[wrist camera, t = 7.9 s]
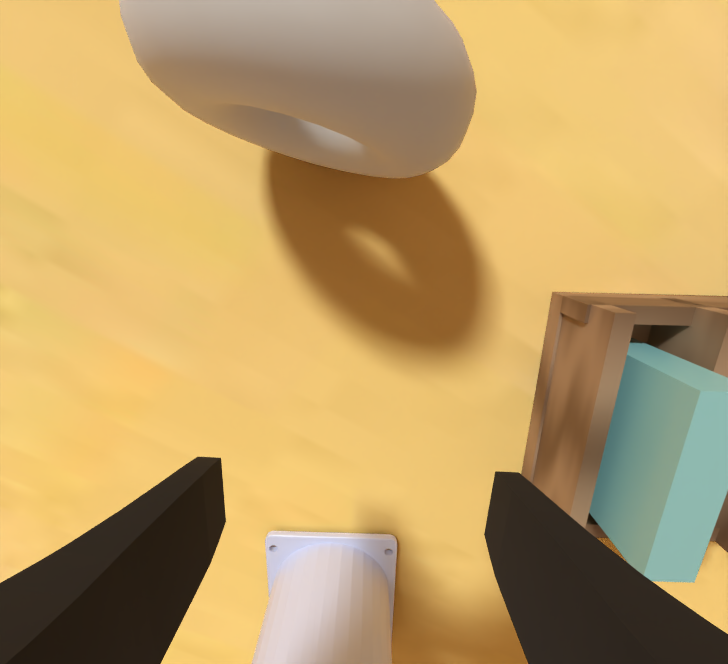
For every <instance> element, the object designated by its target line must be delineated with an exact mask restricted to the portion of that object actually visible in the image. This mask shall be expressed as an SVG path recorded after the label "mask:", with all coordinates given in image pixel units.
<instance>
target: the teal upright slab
mask: <svg viewBox="0 0 728 664" xmlns="http://www.w3.org/2000/svg"><path fill="white" fill-rule="evenodd" d="M727 491H728V378H727V377H725V376H722V375H720V374H718V373H715V372H713V371H710V370H708V369H706V368H703V367H701V366H698V365H696V364H694V363H691V362H689V361H686V360H684V359H682V358H679V357H677V356H675V355H672V354H670V353H667V352H665V351H663V350H660V349H658V348H655V347H653V346H651V345H648V344H646V343H643V342H641V341H639V340H636V339H634V338H631V340H630V344H629V348H628V352H627V356H626V361H625V365H624V369H623V373H622V377H621V381H620V386H619V390H618V394H617V398H616V402H615V406H614V410H613V415H612V419H611V423H610V427H609V431H608V435H607V440H606V444H605V448H604V452H603V456H602V460H601V464H600V469H599V473H598V477H597V481H596V485H595V489H594V494H593V498H592V502H591V506H590V510H589V513H590V514H591V515H592V517H593V518H594V519H595V521H596V522H597V523H598V525H599V526H600V527H601V528H602V530H603V531H604V532H605V534H606V535H607V536H608V537H609V539H610V540H611V541H612V543H613V544H614V545H615V547H616V548H617V549H618V550H619V552H620V553H621V554H622V556H623V557H624V558H625V560H626V561H627V562H628V563H629V564H630V565H631V566H632V567H634V568H635V569H636V570H637V571H639V572H640V573H641V574H643V575H644V576H645V577H647V578H648V579H649V580H651V581H663V582H695V579H696V576H697V574H698V571H699V568H700V565H701V563H702V560H703V557H704V554H705V552H706V549H707V546H708V543H709V541H710V538H711V535H712V532H713V530H714V527H715V524H716V522H717V519H718V516H719V513H720V511H721V508H722V505H723V502H724V500H725V497H726V494H727Z"/></svg>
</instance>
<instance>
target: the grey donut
mask: <svg viewBox="0 0 728 664" xmlns="http://www.w3.org/2000/svg"><path fill="white" fill-rule="evenodd" d="M119 2H120V13H121V17H122V20H123V23H124V26H125V29H126V32H127V35H128V37H129V40H130V43H131V46H132V48H133V51H134V54H135V56H136V59H137V61H138V63H139V64H140V66H141V67H142V69H143V70H144V72H145V73H146V74H147V76H148V77H149V79H150V80H151V82H152V83H154V84H155V85H156V86H157V87H158V88H159V89H160V90H161V91H163V92H164V93H165V94H166V95H167V96H168V97H169V98H171V99H172V100H173V101H174V102H175V103H176V104H177V105H179V106H180V107H181V108H182V109H183V110H185V111H186V112H188V113H190V114H192V115H193V116H195V117H197V118H198V119H200V120H202V121H204V122H205V123H207V124H210V125H212V126H214V127H216V128H218V129H220V130H222V131H224V132H227V133H229V134H231V135H233V136H236V137H238V138H240V139H243V140H246V141H248V142H251V143H253V144H256V145H258V146H261V147H263V148H266V149H269V150H272V151H274V152H277V153H280V154H283V155H286V156H289V157H292V158H296V159H299V160H302V161H306V162H309V163H313V164H316V165H320V166H324V167H328V168H332V169H336V170H340V171H345V172H351V173H356V174H361V175H367V176H374V177H383V178H410V177H414V176H418V175H422V174H425V173H427V172H430V171H432V170H434V169H436V168H437V167H439V166H441V165H442V164H444V163H445V162H447V161H448V160H449V159H450V158H451V157H452V156H453V154H454V153H455V152H456V151H457V150H458V149H459V147H460V145H461V143H462V141H463V138H464V136H465V134H466V132H467V129H468V126H469V124H470V121H471V118H472V115H473V112H474V105H475V98H476V85H475V79H474V72H473V69H472V66H471V63H470V60H469V57H468V54H467V52H466V49H465V46H464V43H463V40H462V38H461V36H460V34H459V33H458V31H457V29H456V27H455V26H454V24H453V22H452V21H451V20H450V19H449V17H448V16H447V15H446V14H445V13H444V12H443V10H442V9H441V8H440V7H439V6H438V5H437V3H436V2H435V1H434V0H119Z"/></svg>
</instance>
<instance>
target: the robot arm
mask: <svg viewBox="0 0 728 664" xmlns="http://www.w3.org/2000/svg"><path fill="white" fill-rule="evenodd" d="M225 522H226V518H225V505H224V492H223V479H222V466H221V458H211V457H197V458H195V459H194V460H192V461H191V462H189V463H188V464H186V465H185V466H183V467H182V468H180V469H179V470H177V471H176V472H175V473H173V474H172V475H170V476H169V477H168V478H166V479H165V480H163V481H162V482H160V483H159V484H158V485H156V486H155V487H153V488H152V489H150V490H149V491H148V492H146V493H145V494H143V495H142V496H140V497H139V498H137V499H136V500H135V501H133V502H132V503H130V504H129V505H127V506H126V507H124V508H123V509H122V510H120V511H119V512H117V513H115V514H114V515H112V516H111V517H109V518H108V519H106V520H105V521H103V522H102V523H100V524H98V525H97V526H95V527H94V528H92V529H91V530H89V531H88V532H86V533H84V534H83V535H81V536H80V537H78V538H77V539H75V540H74V541H72V542H70V543H69V544H67V545H66V546H64V547H62V548H61V549H59V550H57V551H56V552H54V553H52V554H51V555H49V556H47V557H46V558H44V559H42V560H40V561H39V562H37V563H35V564H33V565H32V566H30V567H28V568H26V569H25V570H23V571H21V572H19V573H17V574H16V575H14V576H12V577H10V578H9V579H7V580H5V581H3V582H1V583H0V664H161V662H162V660H163V658H164V656H165V654H166V652H167V650H168V648H169V646H170V644H171V642H172V640H173V638H174V636H175V634H176V632H177V630H178V628H179V626H180V624H181V622H182V620H183V618H184V616H185V614H186V612H187V610H188V608H189V606H190V604H191V602H192V600H193V598H194V596H195V594H196V592H197V590H198V588H199V586H200V584H201V582H202V580H203V578H204V575H205V573H206V571H207V569H208V567H209V565H210V563H211V561H212V558H213V555H214V553H215V550H216V547H217V545H218V542H219V539H220V536H221V534H222V531H223V528H224V525H225ZM484 535H485V539H486V543H487V547H488V551H489V555H490V559H491V563H492V566H493V570H494V574H495V577H496V580H497V583H498V585H499V588H500V591H501V593H502V596H503V599H504V601H505V604H506V607H507V609H508V612H509V615H510V617H511V620H512V622H513V625H514V628H515V630H516V633H517V635H518V638H519V641H520V643H521V646H522V648H523V651H524V654H525V656H526V659H527V661H528V664H728V634H727V633H725V632H724V631H722V630H721V629H719V628H717V627H716V626H714V625H713V624H711V623H710V622H709V621H707V620H706V619H704V618H703V617H701V616H700V615H699V614H697V613H696V612H694V611H693V610H691V609H690V608H688V607H687V606H686V605H684V604H683V603H681V602H680V601H678V600H677V599H675V598H674V597H673V596H671V595H670V594H668V593H667V592H666V591H664V590H663V589H661V588H660V587H659V586H657V585H656V584H655V583H653V582H652V581H651V580H649V579H648V578H647V577H645V576H644V575H643V574H641V573H640V572H639V571H637V570H636V569H635V568H634V567H632V566H631V565H630V564H628V563H627V562H626V561H624V560H623V559H622V558H621V557H619V556H618V555H617V554H615V553H614V552H613V551H612V550H610V549H609V548H608V547H607V546H605V545H604V544H603V543H602V542H600V541H599V540H598V539H597V538H596V537H594V536H593V535H592V534H591V533H590V532H588V531H587V530H586V529H585V528H584V527H582V526H581V525H580V524H579V523H578V522H576V521H575V520H574V519H573V518H572V517H571V516H569V515H568V514H567V513H566V512H565V511H563V510H562V509H561V508H560V507H559V506H558V505H557V504H555V503H554V502H553V501H552V500H551V499H550V498H548V497H547V496H546V495H545V494H544V493H543V492H542V491H540V490H539V489H538V488H537V487H536V486H535V485H533V484H532V483H531V482H530V481H529V480H527V479H526V478H525V477H524V476H522V475H521V474H520V473H515V472H495V477H494V482H493V488H492V494H491V500H490V505H489V511H488V517H487V523H486V528H485V534H484ZM273 545H275V546H276V547H275V546H273ZM265 546H266V560H267V574H268V588H269V601H268V605H267V608H266V612H265V616H264V620H263V623H262V627H261V631H260V634H259V638H258V642H257V645H256V649H255V653H254V656H253V660H252V664H392V650H391V642H392V625H393V608H394V592H395V575H396V558H397V539H396V537H395V536H393V535H390V534H363V533H330V532H297V531H271V532H269V533H268V534H267V536H266V539H265ZM386 549H391V550H386Z"/></svg>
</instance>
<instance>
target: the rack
mask: <svg viewBox="0 0 728 664" xmlns="http://www.w3.org/2000/svg"><path fill="white" fill-rule="evenodd" d="M631 338H634V339H636V340H639V341H641V342H643V343H646V344H648V345H651V346H653V347H655V348H658V349H660V350H663V351H665V352H667V353H670V354H672V355H675V356H677V357H679V358H682V359H684V360H686V361H689V362H691V363H694V364H696V365H698V366H701V367H703V368H706V369H708V370H710V371H713V372H715V373H718V374H720V375H722V376H725V377H727V378H728V296H696V295H654V294H612V293H570V292H552V298H551V304H550V310H549V316H548V322H547V328H546V333H545V339H544V345H543V351H542V357H541V363H540V369H539V375H538V380H537V386H536V392H535V398H534V404H533V410H532V416H531V422H530V427H529V433H528V439H527V445H526V451H525V457H524V463H523V469H522V474H521V475H522V476H524V477H525V478H526V479H527V480H529V481H530V482H531V483H532V484H533V485H535V486H536V487H537V488H538V489H539V490H540V491H542V492H543V493H544V494H545V495H546V496H547V497H548V498H550V499H551V500H552V501H553V502H554V503H555V504H557V505H558V506H559V507H560V508H561V509H562V510H563V511H565V512H566V513H567V514H568V515H569V516H571V517H572V518H573V519H574V520H575V521H576V522H578V523H579V524H580V525H581V526H582V527H584V528H585V529H586V530H587V531H588V532H590V533H591V534H592V535H593V536H594V537H596V538H609V537H608V536H607V535H606V534H605V532H604V531H603V530H602V528H601V527H600V526H599V525H598V523H597V522H596V521H595V519H594V518H593V517H592V515H591V514H590V513H589V510H590V506H591V502H592V498H593V494H594V489H595V485H596V481H597V477H598V473H599V469H600V464H601V460H602V456H603V452H604V448H605V444H606V440H607V435H608V431H609V427H610V423H611V419H612V415H613V410H614V406H615V402H616V398H617V394H618V390H619V386H620V381H621V377H622V373H623V369H624V365H625V361H626V356H627V352H628V348H629V344H630V340H631ZM710 541H716V542H717V543H718V544H719V545H720V546H721V547H722V548H723V549H724V550H725V551H727V552H728V491H727V494H726V497H725V500H724V502H723V505H722V508H721V511H720V513H719V516H718V519H717V522H716V524H715V527H714V530H713V532H712V535H711V538H710Z"/></svg>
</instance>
